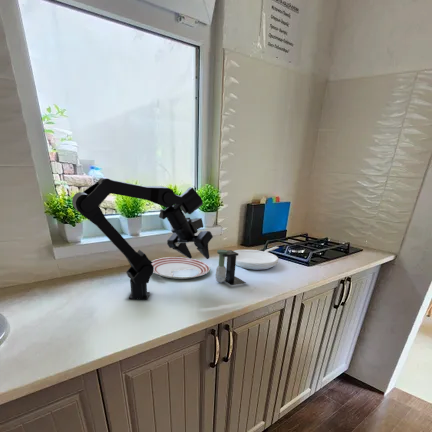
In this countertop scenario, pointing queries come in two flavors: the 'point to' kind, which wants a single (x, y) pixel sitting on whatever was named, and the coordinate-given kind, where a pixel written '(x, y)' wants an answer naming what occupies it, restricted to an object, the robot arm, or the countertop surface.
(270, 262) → the white round dish
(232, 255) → the black bracket
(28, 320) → the countertop surface
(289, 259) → the countertop surface
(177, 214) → the robot arm
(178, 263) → the dinner plate
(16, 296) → the countertop surface
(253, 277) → the countertop surface
